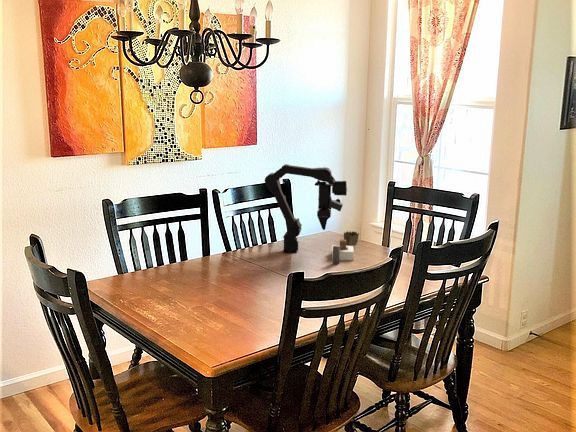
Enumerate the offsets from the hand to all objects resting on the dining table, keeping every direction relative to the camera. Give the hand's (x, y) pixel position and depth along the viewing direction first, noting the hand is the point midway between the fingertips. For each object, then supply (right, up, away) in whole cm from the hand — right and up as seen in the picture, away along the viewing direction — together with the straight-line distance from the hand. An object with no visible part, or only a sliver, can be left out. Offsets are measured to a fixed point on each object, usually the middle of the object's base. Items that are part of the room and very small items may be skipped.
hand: (324, 227), depth 279 cm
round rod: (+5, -16, -14) cm, 22 cm away
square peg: (+8, -14, -4) cm, 17 cm away
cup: (+14, -11, +10) cm, 20 cm away
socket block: (+8, -14, -4) cm, 17 cm away
